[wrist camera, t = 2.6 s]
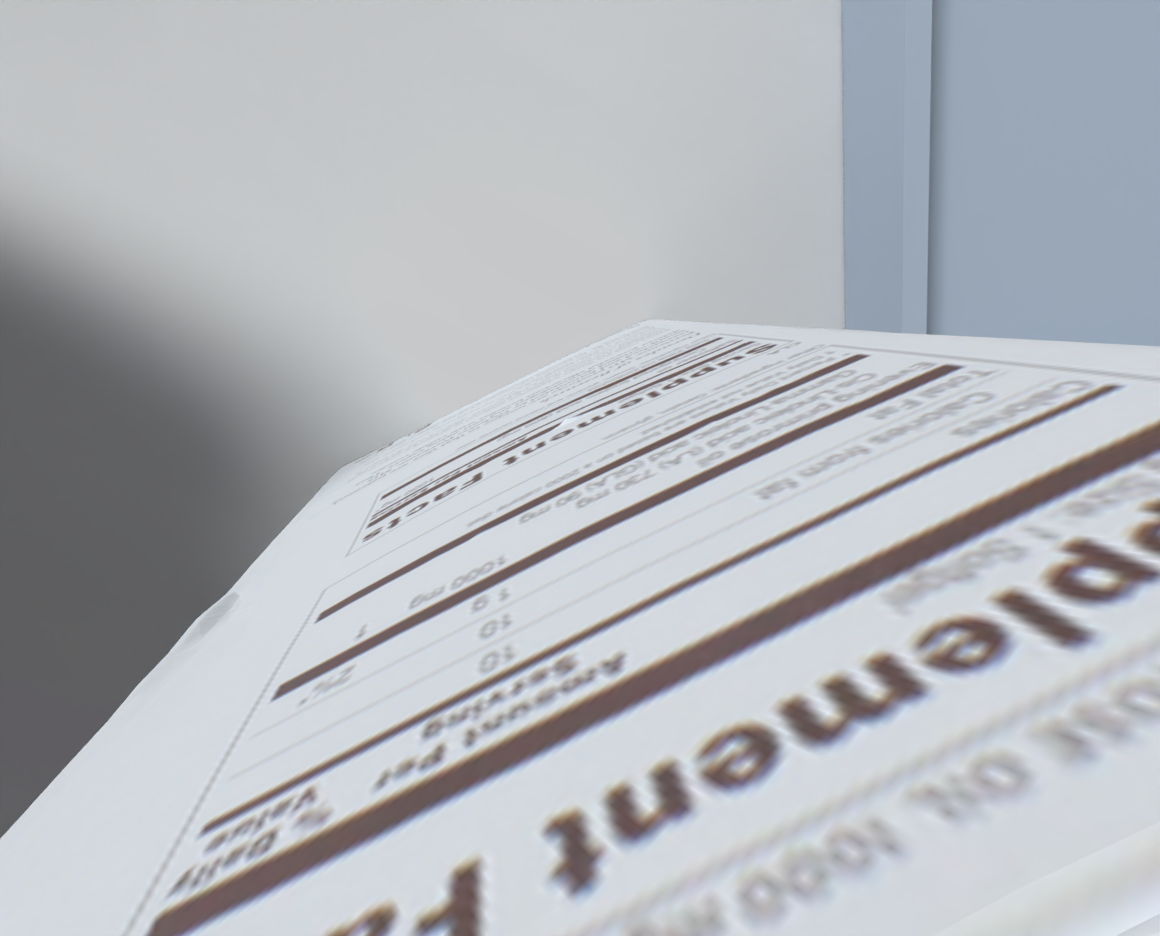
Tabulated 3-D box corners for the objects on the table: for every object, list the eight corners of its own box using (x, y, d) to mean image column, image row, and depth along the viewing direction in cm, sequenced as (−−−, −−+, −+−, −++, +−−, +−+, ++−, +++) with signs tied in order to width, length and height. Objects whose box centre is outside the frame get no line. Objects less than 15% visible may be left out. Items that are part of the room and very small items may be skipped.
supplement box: (784, 609, 20) (2006, 1854, 4) (497, 753, 20) (561, 2666, 4) (652, 302, 18) (2532, 297, 1) (324, 464, 18) (-1655, 2471, 1)
